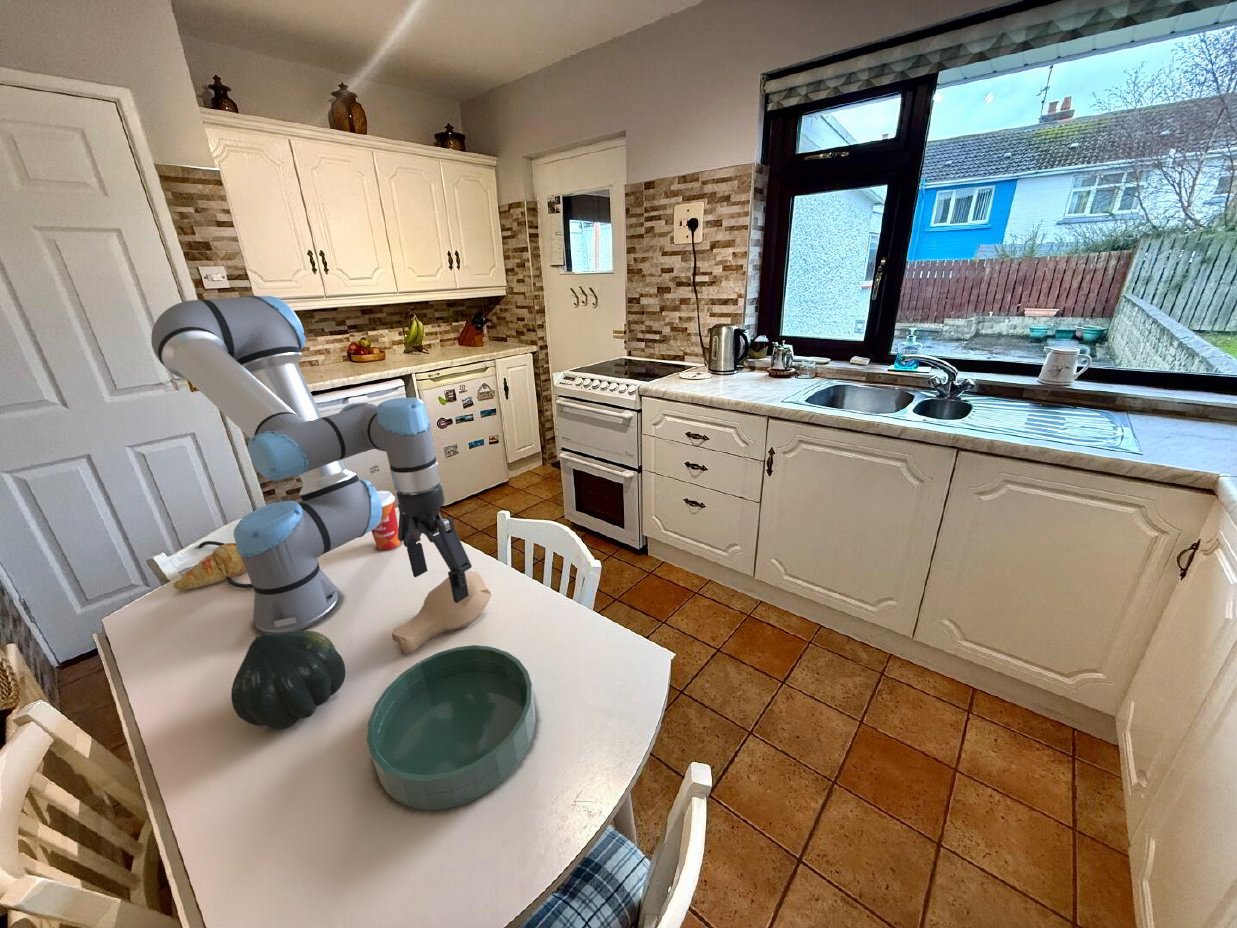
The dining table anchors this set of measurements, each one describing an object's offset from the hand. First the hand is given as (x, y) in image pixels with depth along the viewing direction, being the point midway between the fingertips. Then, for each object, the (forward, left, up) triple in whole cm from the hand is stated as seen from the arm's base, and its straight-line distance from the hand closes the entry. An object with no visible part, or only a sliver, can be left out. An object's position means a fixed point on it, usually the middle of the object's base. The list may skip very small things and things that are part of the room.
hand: (440, 585), depth 93 cm
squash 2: (0, 0, -10) cm, 10 cm away
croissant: (-60, -20, -10) cm, 64 cm away
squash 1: (-4, -26, -10) cm, 28 cm away
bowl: (+22, -13, -10) cm, 27 cm away
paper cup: (-39, +9, -10) cm, 42 cm away
